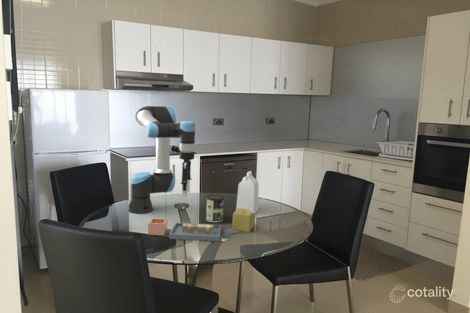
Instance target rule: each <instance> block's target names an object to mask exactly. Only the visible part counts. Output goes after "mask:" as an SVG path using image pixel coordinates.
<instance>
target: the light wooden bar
mask: <svg viewBox="0 0 470 313" xmlns="http://www.w3.org/2000/svg"><path fill="white" fill-rule="evenodd" d="M201 224H202V223H195V224H183V225H182V232H183V233H203V234H213V225H201Z"/></svg>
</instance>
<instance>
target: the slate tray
mask: <svg viewBox="0 0 470 313" xmlns="http://www.w3.org/2000/svg"><path fill="white" fill-rule="evenodd" d="M173 224H174V225H173V226H172V228H171V230H170V232H169V234H168V235H169V236H168V239H169V240H170V239H171V240H184V241H186V240H188V241H204V240H207V241H209V242H220V241H221V240H220V239H221V233H222V224H215V223H214V224H212V223H210V224H209V223H207V224H206V223H200V224H201V225H213V234H203V233H183V232H182V225H183V224H196V223H193V222H174V223H173ZM207 241H206V242H207Z"/></svg>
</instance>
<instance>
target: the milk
mask: <svg viewBox="0 0 470 313" xmlns="http://www.w3.org/2000/svg"><path fill="white" fill-rule="evenodd" d="M237 186H238V187H237V196H236V207H235V211H236V210H237V209H238V208H242V209H246V210H250V211H251V212H253V214H254V215H256V213H257V212H258V211H259V181H258V180H257V179H256V178H255V177H254V175H253V172H252V171H251V170H249V171H247V173H246V176H244V177H242V180H241V181H239V183H238V185H237ZM257 210H258V211H257ZM256 211H257V212H256Z"/></svg>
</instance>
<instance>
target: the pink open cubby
mask: <svg viewBox="0 0 470 313" xmlns="http://www.w3.org/2000/svg"><path fill="white" fill-rule="evenodd" d="M168 220H169V219H168V218H160V217H159V218H157V217H151V218H150V220H149V221H148V223H147V235H151V236H153V235H155V236H157V235H159V236H165V235H166V233H167V231H168V224H169V223H168V222H169V221H168Z"/></svg>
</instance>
